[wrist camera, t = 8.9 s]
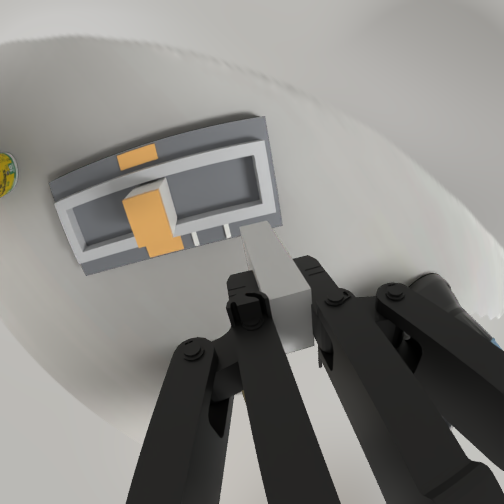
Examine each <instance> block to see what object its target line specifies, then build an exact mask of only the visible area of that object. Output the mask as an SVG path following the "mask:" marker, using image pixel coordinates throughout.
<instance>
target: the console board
mask: <svg viewBox="0 0 504 504" xmlns="http://www.w3.org/2000/svg"><path fill="white" fill-rule="evenodd" d="M165 177H166V179H167V183H168V187H169V190H170V194H171V197H172V201H173V204H174V208H175V211H176V215H177V222H176V226H175V231H174V236H173V239H171V240H167V241H163V242H160V243H156V244H152V245H148V246H145V247H141V248H139V247H138V245H137V242H136V239H135V237H134V234H133V231H132V229H131V226H130V223H129V220H128V217H127V214H126V211H125V208H124V205H123V202H122V201H123V200H124V198H125V197H126V196H127V195H128V194H129V193H130V192H131V191H132V190H133V189H134V188H135V187H136V186H138V185H141V184H144V183H148V182H151V181H154V180H158V179H161V178H165ZM49 185H50V189H51V192H52V195H53V198H54V201H55V203H54V205H55V208H56V210H57V213H58V216H59V219H60V221H61V224H62V226H63V229H64V231H65V234H66V236H67V239H68V241H69V243H70V246H71V248H72V250H73V252H74V255H75V257H76V259H77V261H78V263H79V264H81V266H82V269H83V271H84V273H85V275H86V276H88V275H91V274H95V273H98V272H102V271H106V270H109V269H113V268H117V267H120V266H124V265H128V264H132V263H135V262H139V261H143V260H147V259H151V258H154V257H158V256H162V255H166V254H170V253H174V252H178V251H181V250H185V249H189V248H193V247H197V246H201V245H205V244H209V243H213V242H217V241H221V240H225V239H229V238H233V237H238V236H241V232H240V227H241V226H246V225H250V224H254V223H259V222H263V221H268V222H269V224H270V226H271V227H272V228H275V227H279V226H283V225H282V218H281V211H280V204H279V198H278V191H277V185H276V179H275V172H274V166H273V160H272V154H271V148H270V142H269V137H268V131H267V125H266V120H265V116H262V117H255V118H249V119H244V120H238V121H233V122H228V123H223V124H218V125H214V126H209V127H205V128H201V129H197V130H193V131H189V132H185V133H181V134H177V135H174V136H170V137H166V138H163V139H160V140H156V141H153V142H150V143H147V144H143V145H140V146H137V147H134V148H131V149H128V150H126V151H123V152H120V153H117V154H114V155H112V156H109V157H106V158H104V159H101V160H99V161H96V162H94V163H91V164H89V165H86V166H84V167H82V168H79V169H77V170H75V171H72V172H70V173H68V174H66V175H64V176H61V177H59V178H57V179H55V180H53V181H51V182H49Z"/></svg>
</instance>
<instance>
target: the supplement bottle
mask: <svg viewBox="0 0 504 504" xmlns="http://www.w3.org/2000/svg"><path fill="white" fill-rule="evenodd" d="M17 179H18V168H17V163H16V161H15V159H14V157H13V156H12V155H11V154H9V153H0V197H2V196H4V195H5V194H7V193H9V192H10V191H12V190H13V188H14V187H15V185H16V183H17Z"/></svg>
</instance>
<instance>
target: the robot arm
mask: <svg viewBox="0 0 504 504" xmlns="http://www.w3.org/2000/svg"><path fill="white" fill-rule="evenodd" d="M240 232H241V236H242V241H243V246H244V250H245V255H246V259H247V264H248V268H249V271H246V272H242V273H238V274H233V275H230V277H229V279H228V281H227V289H228V295H229V301H228V302H227V306H226V310H227V313H228V316H229V319H230V322H231V325H232V326H231V328H230V330H229V331H228V332H227V333H226V334H225V335H224V336H222V337H220V338H219V339H217V340H215V341H212V342H211V341H209V340H207V339H206V338H200V337H197V338H191V339H188V340H186V341H184V342H182V343H181V344H180V345H179V346H178V347H177V348H176V350H175V352H174V354H173V357H172V359H171V362H170V365H169V368H168V371H167V374H166V376H165V379H164V382H163V385H162V388H161V391H160V394H159V397H158V400H157V403H156V406H155V409H154V412H153V415H152V418H151V421H150V424H149V427H148V430H147V433H146V436H145V439H144V443H143V446H142V449H141V452H140V456H139V459H138V463H137V466H136V469H135V473H134V476H133V479H132V483H131V486H130V490H129V493H128V497H127V501H126V504H219V501H220V493H221V486H222V479H223V472H224V465H225V457H226V451H227V443H228V436H229V429H230V422H231V415H232V407H233V399H234V395H235V394H237V393H239V392H241V391H243V390H244V395H245V400H246V406H247V410H248V416H249V420H250V425H251V430H252V435H253V440H254V444H255V449H256V454H257V458H258V462H259V467H260V471H261V476H262V480H263V484H264V489H265V493H266V497H267V501H268V504H341V503H340V500H339V498H338V495H337V492H336V489H335V487H334V484H333V481H332V479H331V476H330V473H329V471H328V468H327V465H326V463H325V460H324V457H323V454H322V452H321V449H320V447H319V444H318V441H317V438H316V436H315V433H314V430H313V428H312V425H311V422H310V419H309V417H308V414H307V411H306V408H305V406H304V403H303V400H302V398H301V395H300V392H299V389H298V387H297V384H296V381H295V378H294V376H293V373H292V370H291V367H290V365H289V362H288V360H287V357H286V354H287V353H291V352H295V351H298V350H301V349H305V348H308V347H311V346H314V337H315V339H316V341H317V343H318V359H319V360H318V361H319V368H321V367H322V363H323V365H324V367H325V369H326V371H327V373H328V375H329V377H330V380H331V382H332V384H333V386H334V388H335V390H336V392H337V394H338V397H339V399H340V401H341V403H342V405H343V407H344V410H345V412H346V414H347V416H348V418H349V420H350V423H351V425H352V427H353V429H354V431H355V434H356V436H357V438H358V440H359V442H360V445H361V447H362V449H363V451H364V453H365V456H366V458H367V460H368V462H369V465H370V467H371V469H372V471H373V474H374V476H375V478H376V480H377V483H378V485H379V487H380V489H381V492H382V494H383V496H384V499H385V501H386V503H387V504H504V493H503V491H502V489H501V487H500V485H499V483H498V482H497V480H496V478H495V476H494V474H493V473H492V471H491V470H490V468H489V467H488V466H487V465H485V464H483V463H481V462H475V461H471V460H470V459H468V457H467V456H466V455H465V453H464V451H463V450H462V448H461V446H460V445H459V443H458V441H457V440H456V438H455V436H454V435H453V433H452V428H453V427H455V428H456V429H457V430H458V431H459V432H460V433H461V434H462V435H463V436H464V437H465V438H467V439H468V440H469V441H470V442H471V443H472V444H473V445H474V446H475V447H476V448H477V449H479V450H480V451H481V452H482V453H483V454H484V455H485V456H486V457H487V458H488V459H489V460H490V461H492V462H493V463H494V464H495V465H496V466H498V467H499V468H500V469H501V470H503V471H504V351H503V350H502V349H501V348H500V346H499V345H498V344H497V343H496V341H495V339H494V338H492V337H491V336H490V335H489V334H488V333H487V332H486V330H484V328H483V327H482V326H480V324H478V323H477V322H476V321H475V320H474V319H473V318H472V317H471V316H470V315H469V314H468V313H467V312H466V311H465V310H464V309H463V308H462V307H461V306H460V304H459V302H458V300H457V299H456V297H455V295H454V294H453V292H452V291H451V287H450V285H449V284H448V282H447V281H446V280H445V279H443V278H442V277H441V276H440V275H438V274H429V275H426V276H424V277H422V278H420V279H419V280H417V281H416V282H414V283H413V284H412V285H411V286H410V287H407V286H405V285H403V284H400V283H387V284H384V285H382V286H381V287H380V288H379V289H378V291H377V294H376V296H373V297H355V296H354V295H353V294H352V293H351V292H350V291H348V290H346V289H343V288H338V286H337V285H336V284H335V282H334V281H333V280H332V279H331V277H330V276H329V275H328V273H327V272H325V270H324V268H323V267H321V265H320V263H319V262H318V261H317V260H316V259H315V258H313V257H311V256H308V255H307V256H303V257H299V258H295V259H292V258H291V256H290V255H289V253H288V252H287V250H286V249H285V247H284V245H283V244H282V242H281V241H280V239H279V238H278V236H277V235H276V233H275V232H274V230H273V229H272V227H271V226H270V224H269V222H268V221H263V222H259V223H254V224H250V225H246V226H241V227H240Z"/></svg>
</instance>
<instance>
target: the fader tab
mask: <svg viewBox="0 0 504 504" xmlns="http://www.w3.org/2000/svg"><path fill="white" fill-rule="evenodd" d="M122 202H123V205H124V208H125V211H126V214H127V217H128V220H129V223H130V226H131V229H132V231H133V234H134V237H135V239H136V242H137V245H138V247H139V248H141V247H145V246H148V245H152V244H156V243H160V242H163V241H167V240H171V239H173V236H174V231H175V226H176V222H177V215H176V211H175V208H174V204H173V201H172V197H171V194H170V190H169V187H168V183H167V179H166V177H165V178H161V179H158V180H154V181H151V182H148V183H144V184H141V185H138V186H136V187H135V188H134V189H133V190H132V191H131V192H130V193H129V194H128V195H127V196H126V197H125V198H124V200H123V201H122Z"/></svg>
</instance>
